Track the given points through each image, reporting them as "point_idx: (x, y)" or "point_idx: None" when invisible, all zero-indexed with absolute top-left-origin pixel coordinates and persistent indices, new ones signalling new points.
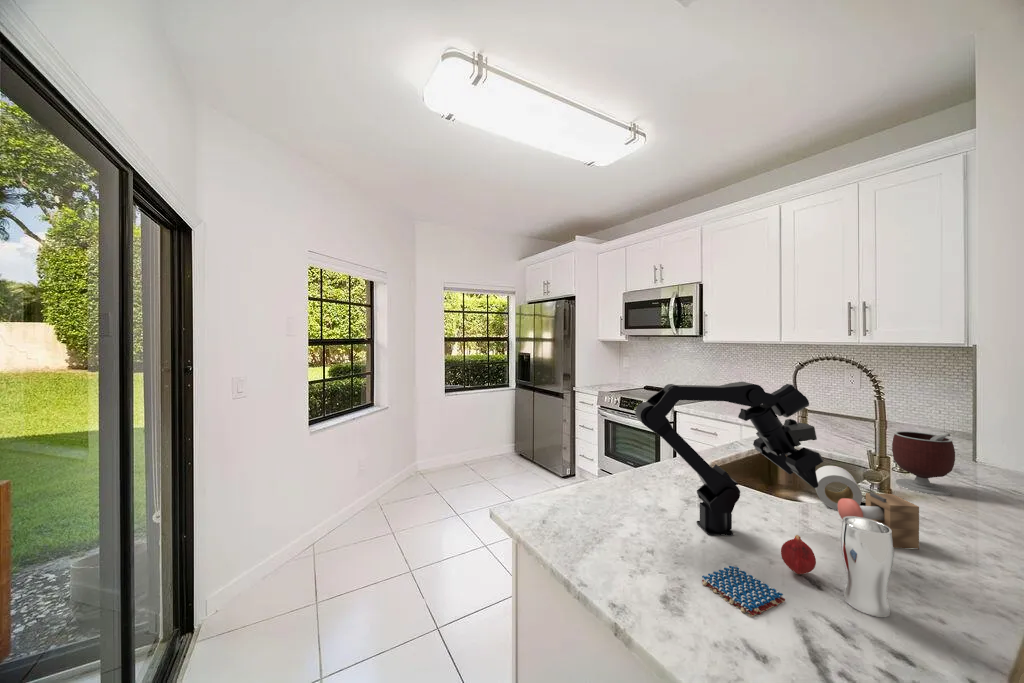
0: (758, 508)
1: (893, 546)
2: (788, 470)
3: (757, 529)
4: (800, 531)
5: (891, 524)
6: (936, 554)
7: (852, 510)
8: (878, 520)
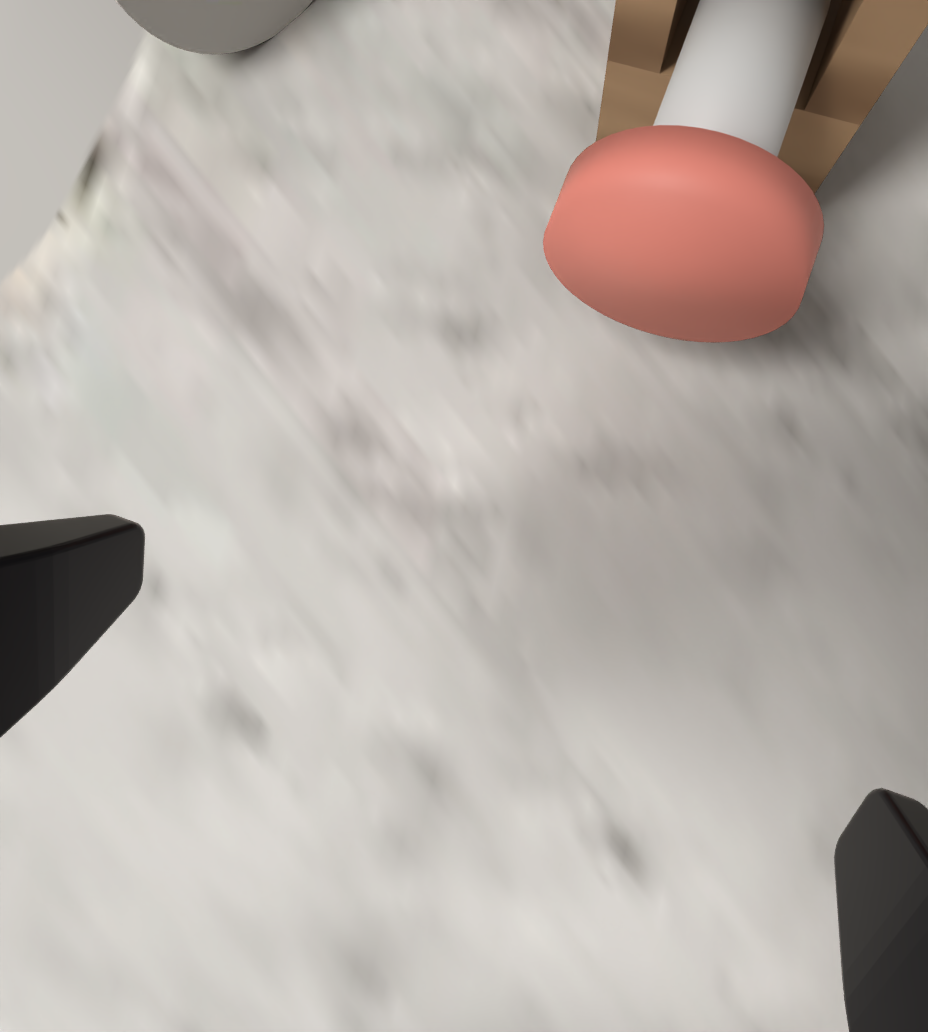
0: None
1: None
2: (79, 617)
3: (361, 962)
4: (473, 627)
5: (882, 88)
6: None
7: (759, 277)
8: None
